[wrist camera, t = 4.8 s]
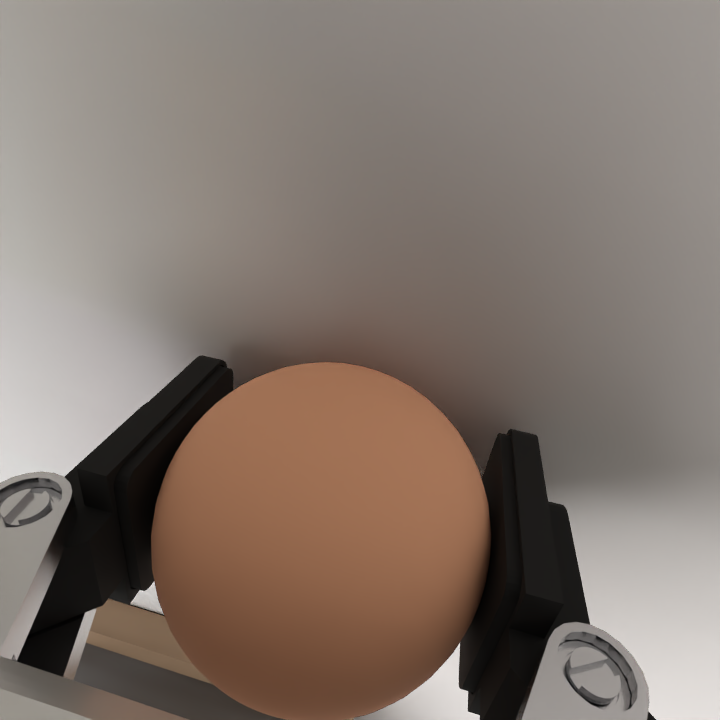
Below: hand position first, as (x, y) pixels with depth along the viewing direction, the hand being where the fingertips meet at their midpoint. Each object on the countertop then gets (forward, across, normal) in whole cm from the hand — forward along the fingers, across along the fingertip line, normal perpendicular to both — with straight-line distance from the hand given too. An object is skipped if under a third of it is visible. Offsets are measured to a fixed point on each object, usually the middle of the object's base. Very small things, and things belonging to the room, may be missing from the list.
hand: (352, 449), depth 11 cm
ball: (-2, 0, 0) cm, 2 cm away
